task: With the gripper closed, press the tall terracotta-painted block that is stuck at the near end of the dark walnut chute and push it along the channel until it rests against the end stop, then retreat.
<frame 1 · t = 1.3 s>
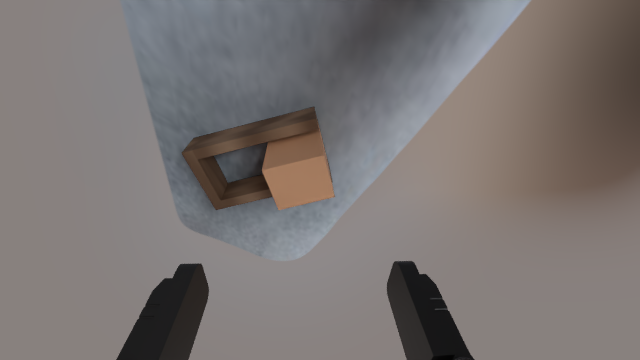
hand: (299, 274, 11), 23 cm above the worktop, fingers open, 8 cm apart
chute: (269, 151, 33), on the worktop
block: (299, 162, 29), point 5 cm above the worktop, slide at 0.0 cm
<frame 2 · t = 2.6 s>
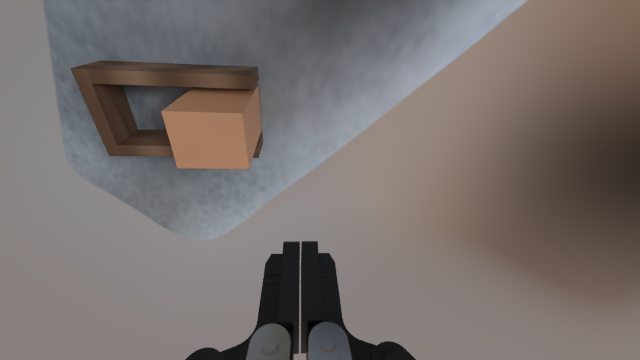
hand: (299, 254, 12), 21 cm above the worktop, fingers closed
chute: (195, 105, 28), on the worktop
block: (222, 122, 25), point 5 cm above the worktop, slide at 0.0 cm
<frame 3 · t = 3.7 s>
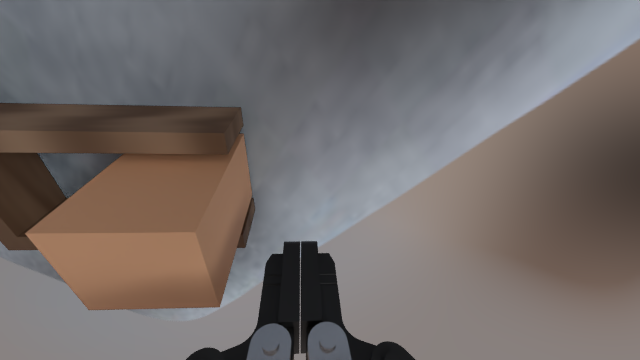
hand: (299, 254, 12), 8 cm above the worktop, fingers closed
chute: (148, 164, 18), on the worktop
block: (179, 206, 15), point 5 cm above the worktop, slide at 0.0 cm
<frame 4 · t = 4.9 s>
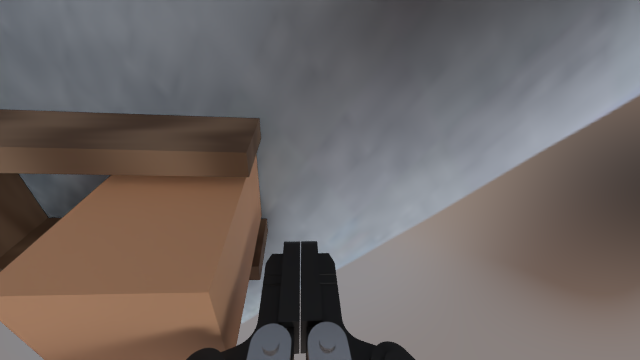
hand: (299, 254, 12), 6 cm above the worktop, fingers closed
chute: (147, 181, 16), on the worktop
block: (180, 237, 12), point 5 cm above the worktop, slide at 0.3 cm, touching gripper
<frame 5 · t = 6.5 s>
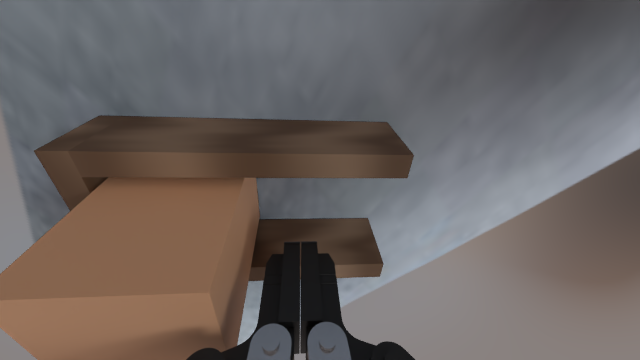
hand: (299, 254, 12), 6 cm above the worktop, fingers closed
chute: (266, 183, 16), on the worktop
block: (179, 239, 12), point 5 cm above the worktop, slide at 7.6 cm, touching gripper
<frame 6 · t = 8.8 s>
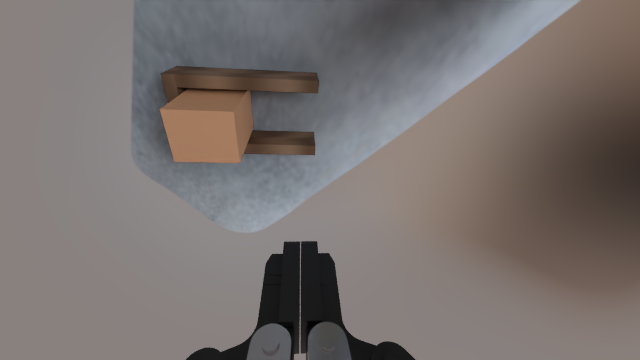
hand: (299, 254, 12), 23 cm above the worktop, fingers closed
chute: (256, 107, 31), on the worktop
block: (215, 120, 27), point 5 cm above the worktop, slide at 7.5 cm
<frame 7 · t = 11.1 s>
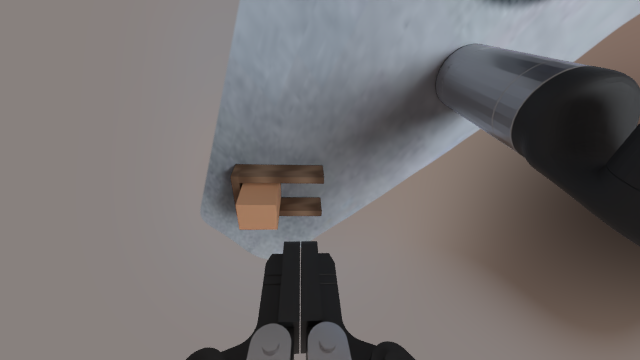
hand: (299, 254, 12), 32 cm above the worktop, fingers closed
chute: (283, 184, 48), on the worktop
block: (261, 199, 44), point 5 cm above the worktop, slide at 7.5 cm
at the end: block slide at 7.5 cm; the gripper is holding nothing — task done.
